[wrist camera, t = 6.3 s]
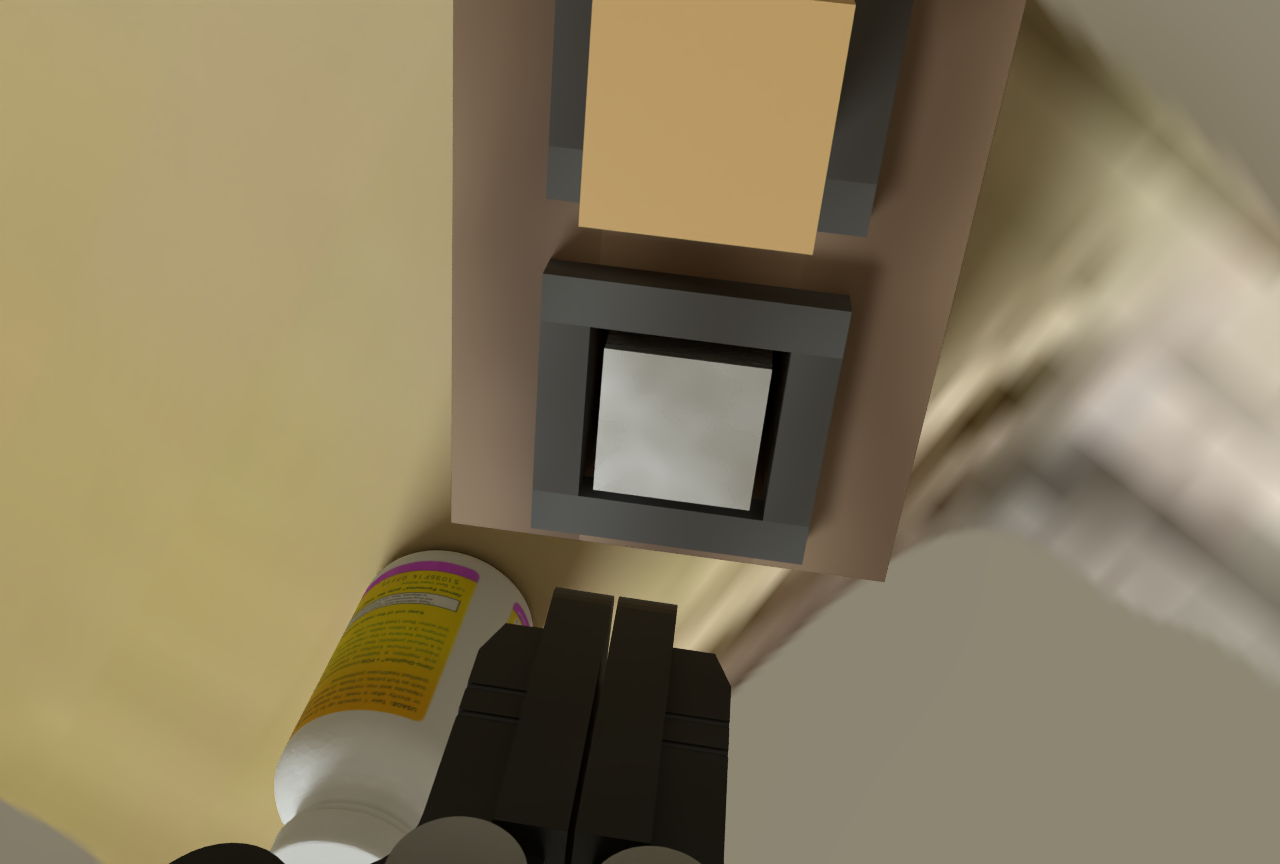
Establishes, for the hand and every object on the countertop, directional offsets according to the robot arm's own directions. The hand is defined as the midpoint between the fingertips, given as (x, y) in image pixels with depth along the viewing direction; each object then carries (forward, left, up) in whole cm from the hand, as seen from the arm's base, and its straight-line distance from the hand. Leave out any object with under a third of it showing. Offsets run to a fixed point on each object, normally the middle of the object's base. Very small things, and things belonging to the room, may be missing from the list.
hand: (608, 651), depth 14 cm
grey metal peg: (0, -4, -21) cm, 22 cm away
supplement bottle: (-8, -19, -23) cm, 31 cm away
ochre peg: (0, +5, -16) cm, 16 cm away
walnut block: (0, 0, -23) cm, 23 cm away
